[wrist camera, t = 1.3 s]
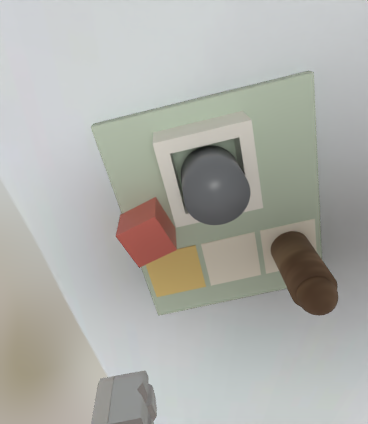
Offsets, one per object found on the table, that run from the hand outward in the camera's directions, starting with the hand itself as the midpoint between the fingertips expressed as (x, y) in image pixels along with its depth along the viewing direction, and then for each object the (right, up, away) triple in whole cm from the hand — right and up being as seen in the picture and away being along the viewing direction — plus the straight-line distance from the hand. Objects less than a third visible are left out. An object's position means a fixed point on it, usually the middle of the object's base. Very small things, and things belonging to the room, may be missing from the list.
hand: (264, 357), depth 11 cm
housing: (-1, +9, +17) cm, 19 cm away
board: (+1, +5, +20) cm, 21 cm away
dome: (-1, +8, +15) cm, 17 cm away
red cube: (-6, +4, +19) cm, 20 cm away
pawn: (+7, +1, +21) cm, 22 cm away
